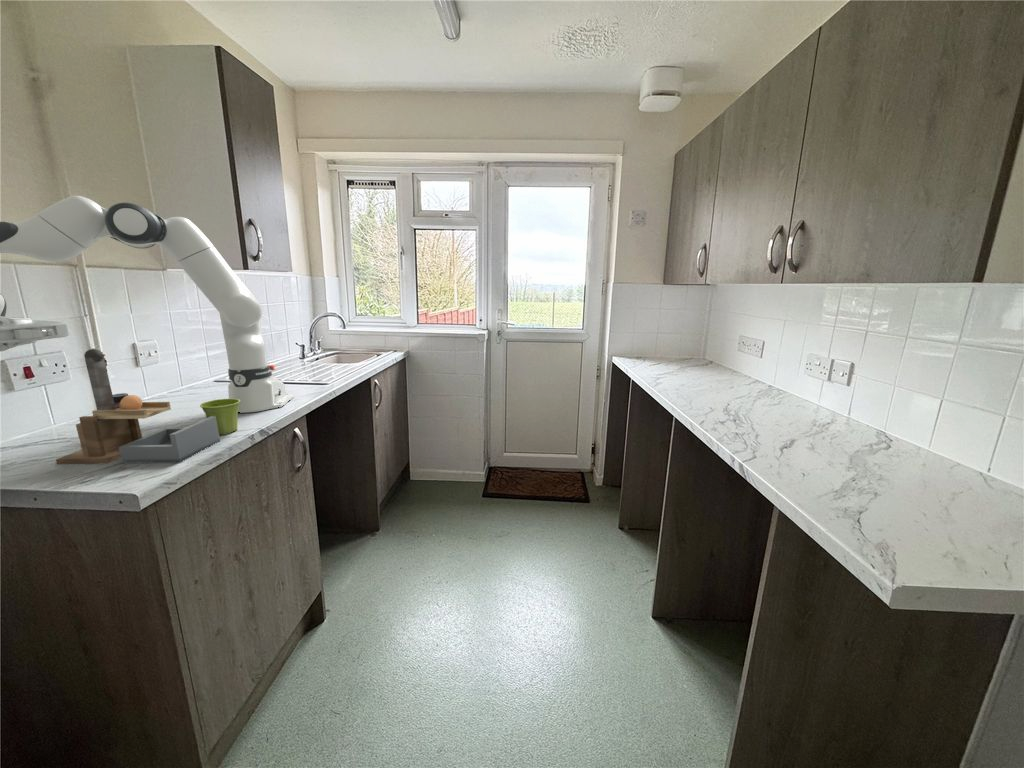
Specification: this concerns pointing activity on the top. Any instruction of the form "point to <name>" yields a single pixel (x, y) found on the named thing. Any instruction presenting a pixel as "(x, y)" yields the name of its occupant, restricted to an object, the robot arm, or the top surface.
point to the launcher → (105, 396)
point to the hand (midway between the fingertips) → (47, 333)
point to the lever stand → (102, 440)
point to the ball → (131, 402)
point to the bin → (171, 443)
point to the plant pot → (223, 413)
